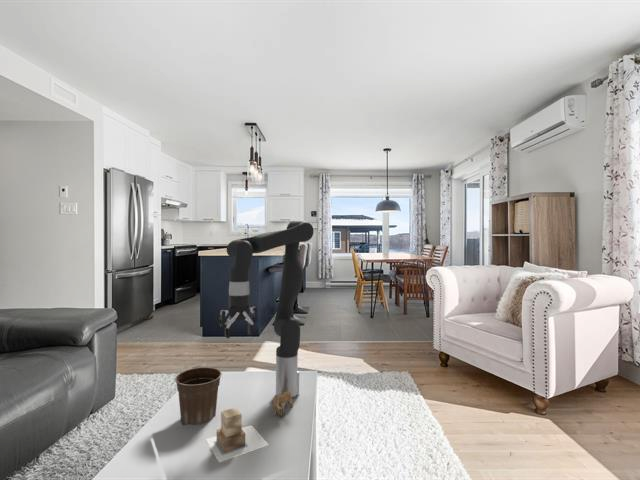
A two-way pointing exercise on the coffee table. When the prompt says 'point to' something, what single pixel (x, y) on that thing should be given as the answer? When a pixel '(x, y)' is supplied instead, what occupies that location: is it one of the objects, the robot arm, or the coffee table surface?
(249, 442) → the board
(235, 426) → the oak block
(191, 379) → the plant pot
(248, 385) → the coffee table surface
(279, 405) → the lion figurine
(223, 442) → the walnut plinth
